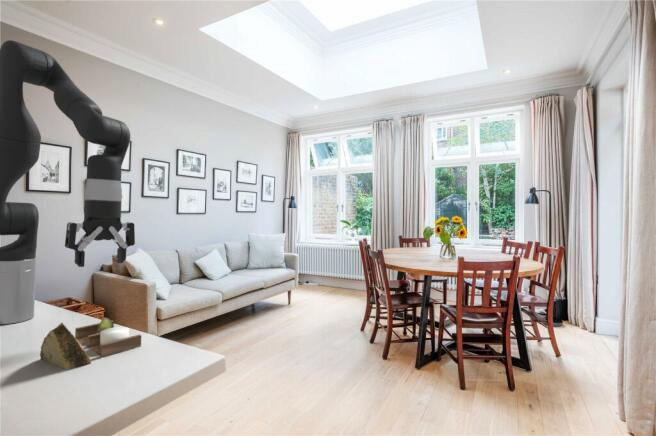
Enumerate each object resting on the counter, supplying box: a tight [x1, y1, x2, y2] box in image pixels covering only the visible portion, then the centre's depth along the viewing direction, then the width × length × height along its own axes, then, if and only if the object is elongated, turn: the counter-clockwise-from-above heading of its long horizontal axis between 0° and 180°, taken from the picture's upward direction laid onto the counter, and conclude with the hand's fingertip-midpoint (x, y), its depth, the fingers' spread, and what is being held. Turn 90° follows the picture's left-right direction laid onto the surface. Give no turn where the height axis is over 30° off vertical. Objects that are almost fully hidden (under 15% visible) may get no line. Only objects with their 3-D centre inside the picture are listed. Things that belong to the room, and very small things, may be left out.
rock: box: [39, 322, 92, 370], centre depth 70 cm, size 11×9×10 cm
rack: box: [74, 319, 142, 358], centre depth 79 cm, size 16×8×4 cm, turn 54°
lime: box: [96, 317, 113, 334], centre depth 82 cm, size 4×5×5 cm
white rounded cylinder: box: [100, 326, 130, 347], centre depth 77 cm, size 6×6×4 cm
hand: (101, 264), depth 82 cm, fingers open, 8 cm apart
